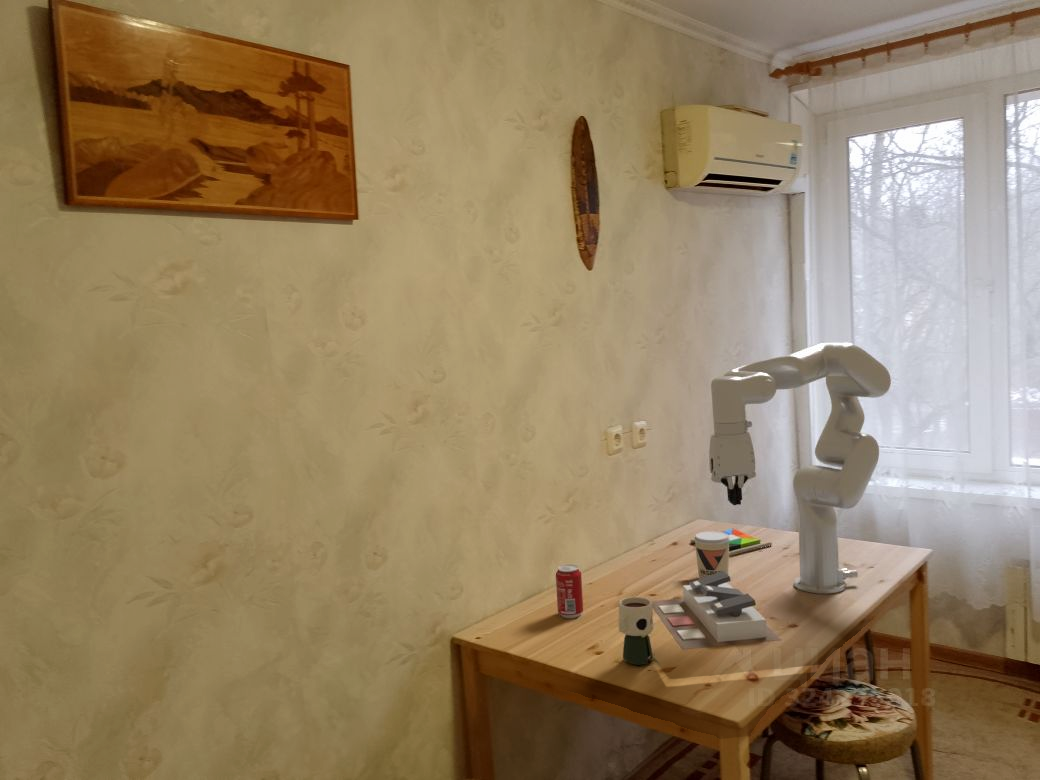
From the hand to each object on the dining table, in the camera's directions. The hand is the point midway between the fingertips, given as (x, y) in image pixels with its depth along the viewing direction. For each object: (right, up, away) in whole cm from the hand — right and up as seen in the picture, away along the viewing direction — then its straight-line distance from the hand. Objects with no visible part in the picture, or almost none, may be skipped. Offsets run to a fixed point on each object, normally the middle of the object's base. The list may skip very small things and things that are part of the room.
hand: (735, 503), depth 197 cm
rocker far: (-5, -21, +3) cm, 22 cm away
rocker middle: (-5, -22, -5) cm, 23 cm away
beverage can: (-39, -29, +7) cm, 49 cm away
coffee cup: (+1, -24, +27) cm, 37 cm away
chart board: (-7, -28, -4) cm, 29 cm away
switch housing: (-4, -26, -4) cm, 27 cm away
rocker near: (-3, -23, -13) cm, 26 cm away
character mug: (-26, -31, -22) cm, 46 cm away
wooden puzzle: (+14, -21, +57) cm, 63 cm away
